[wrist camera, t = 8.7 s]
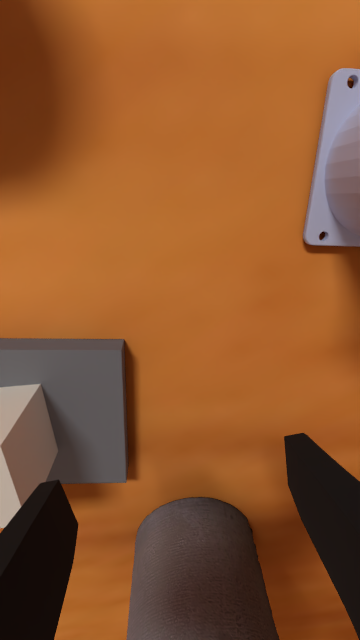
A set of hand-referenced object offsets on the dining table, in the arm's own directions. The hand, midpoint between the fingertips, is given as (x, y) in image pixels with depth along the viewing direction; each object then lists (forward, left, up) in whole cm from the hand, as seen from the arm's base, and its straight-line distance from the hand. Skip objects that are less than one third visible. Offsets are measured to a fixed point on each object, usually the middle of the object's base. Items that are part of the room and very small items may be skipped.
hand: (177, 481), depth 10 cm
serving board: (+10, +5, -10) cm, 15 cm away
